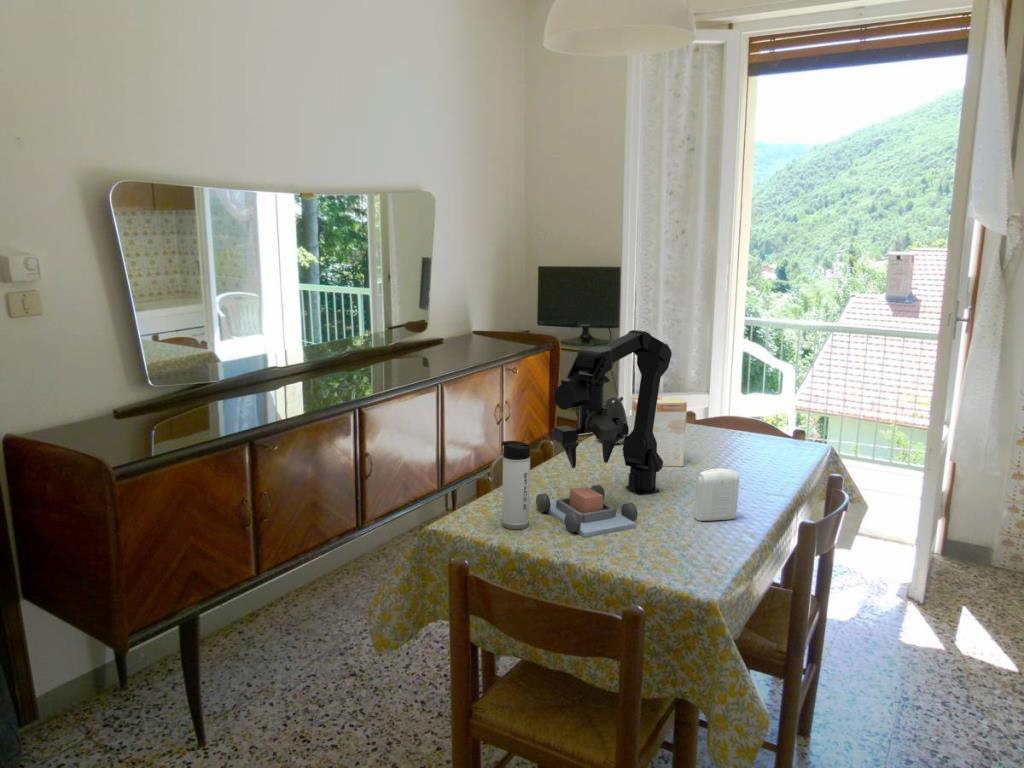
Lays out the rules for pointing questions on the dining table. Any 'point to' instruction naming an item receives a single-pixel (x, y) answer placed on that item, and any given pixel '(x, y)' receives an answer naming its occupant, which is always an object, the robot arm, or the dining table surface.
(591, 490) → the salmon pink brick
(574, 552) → the dining table surface
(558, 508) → the chassis
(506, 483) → the travel mug
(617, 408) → the dark grey tapered dome
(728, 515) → the photo printer
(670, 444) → the coffeecake box
